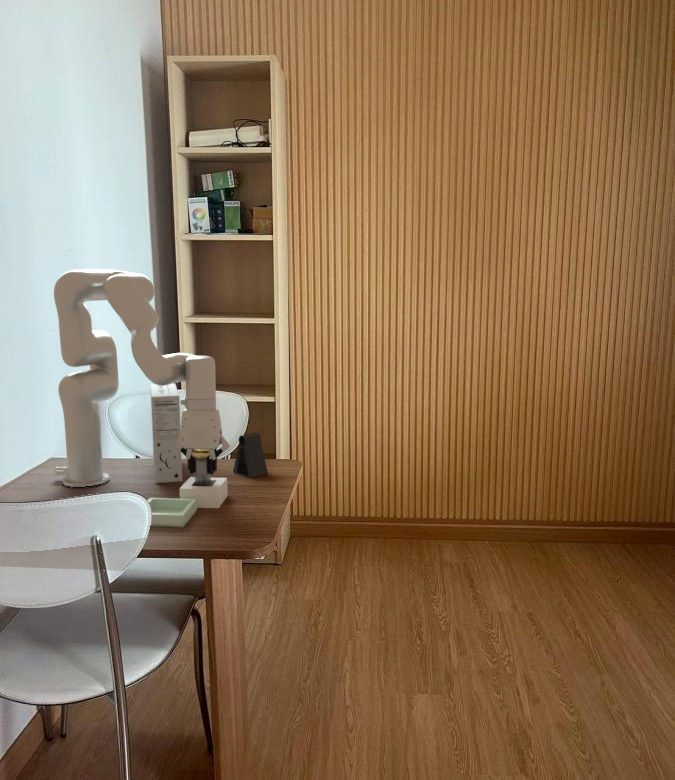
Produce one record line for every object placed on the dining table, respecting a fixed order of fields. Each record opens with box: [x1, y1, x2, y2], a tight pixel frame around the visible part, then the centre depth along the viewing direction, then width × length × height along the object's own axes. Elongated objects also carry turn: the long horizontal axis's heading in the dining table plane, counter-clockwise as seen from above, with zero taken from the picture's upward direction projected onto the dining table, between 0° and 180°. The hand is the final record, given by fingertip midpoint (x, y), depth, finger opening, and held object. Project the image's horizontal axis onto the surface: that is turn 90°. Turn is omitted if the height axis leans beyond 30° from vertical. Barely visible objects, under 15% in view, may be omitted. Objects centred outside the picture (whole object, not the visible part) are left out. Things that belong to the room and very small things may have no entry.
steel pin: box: [191, 449, 211, 486], centre depth 188 cm, size 6×6×11 cm
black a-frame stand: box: [232, 432, 269, 479], centre depth 213 cm, size 9×6×12 cm, turn 47°
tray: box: [146, 497, 198, 528], centre depth 177 cm, size 12×12×3 cm
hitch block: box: [179, 476, 229, 509], centre depth 189 cm, size 10×10×5 cm
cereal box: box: [149, 383, 183, 484], centre depth 214 cm, size 22×8×25 cm, turn 15°
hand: (202, 472), depth 188 cm, fingers closed on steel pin, 4 cm apart
